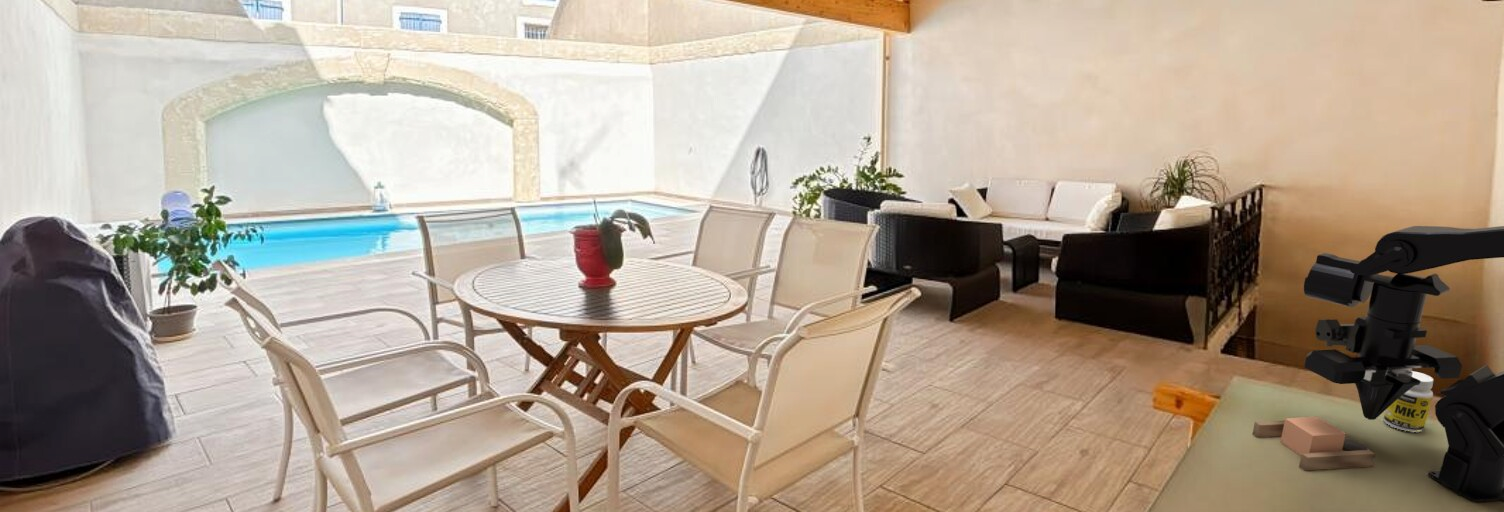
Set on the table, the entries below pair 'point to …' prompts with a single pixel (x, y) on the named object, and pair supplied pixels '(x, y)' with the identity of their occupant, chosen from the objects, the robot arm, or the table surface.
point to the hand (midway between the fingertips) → (1369, 418)
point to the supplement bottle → (1411, 406)
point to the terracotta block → (1311, 435)
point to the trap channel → (1350, 458)
